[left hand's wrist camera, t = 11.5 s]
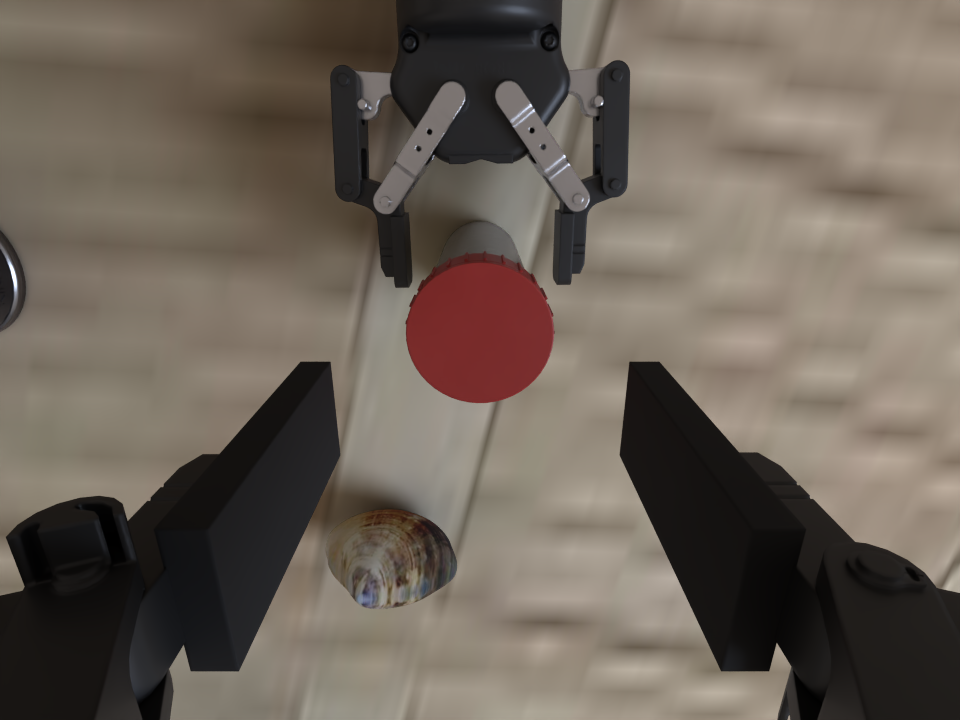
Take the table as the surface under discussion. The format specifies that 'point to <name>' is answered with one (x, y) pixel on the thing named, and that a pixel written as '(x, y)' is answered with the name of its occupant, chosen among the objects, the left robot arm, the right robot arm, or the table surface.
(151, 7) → the table surface
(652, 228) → the table surface
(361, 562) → the seashell
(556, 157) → the right robot arm
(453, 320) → the lid
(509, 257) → the jar
